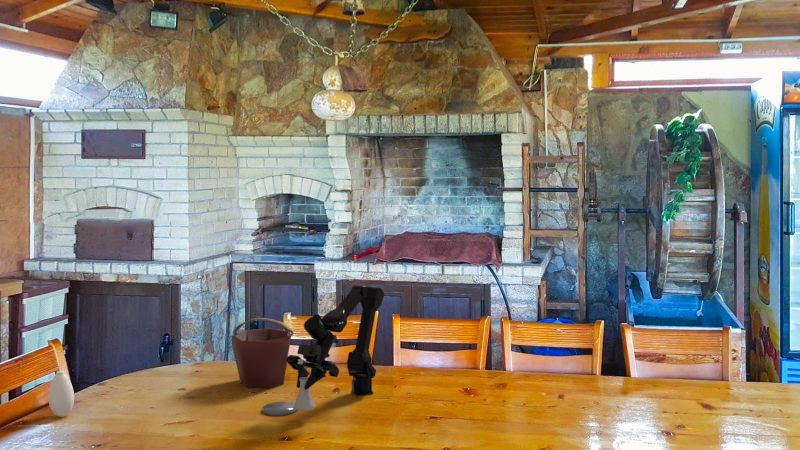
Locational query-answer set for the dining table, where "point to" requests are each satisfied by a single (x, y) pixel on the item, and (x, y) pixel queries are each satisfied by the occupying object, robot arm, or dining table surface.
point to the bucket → (262, 354)
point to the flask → (304, 397)
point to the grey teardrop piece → (61, 394)
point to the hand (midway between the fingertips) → (301, 388)
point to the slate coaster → (279, 408)
